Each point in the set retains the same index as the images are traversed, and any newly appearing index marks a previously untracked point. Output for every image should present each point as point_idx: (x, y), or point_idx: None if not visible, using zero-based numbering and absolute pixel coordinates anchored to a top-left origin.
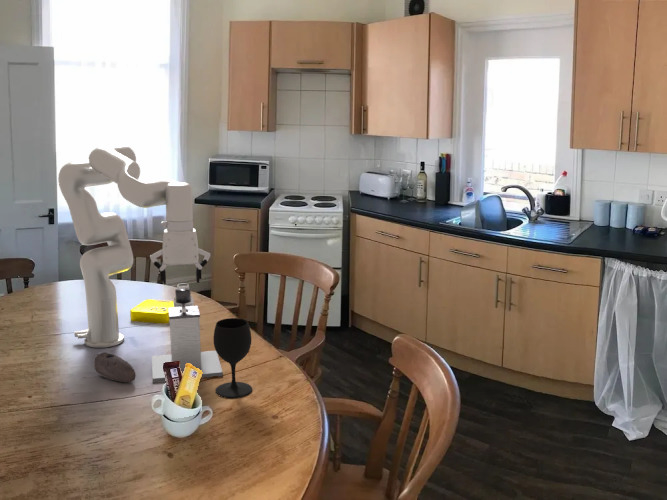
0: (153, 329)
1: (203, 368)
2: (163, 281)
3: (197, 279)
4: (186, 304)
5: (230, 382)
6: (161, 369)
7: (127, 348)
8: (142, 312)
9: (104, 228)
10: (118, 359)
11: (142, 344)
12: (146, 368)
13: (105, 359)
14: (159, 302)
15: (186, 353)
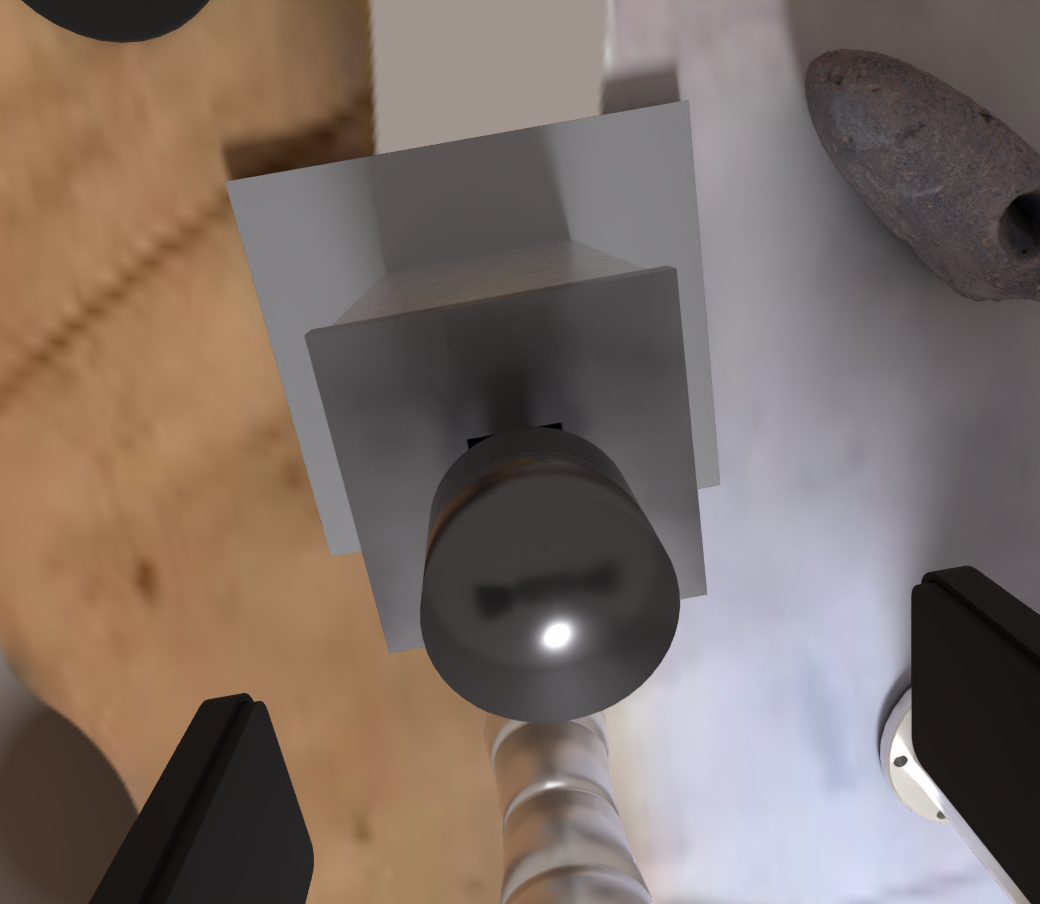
0: (732, 880)
1: (369, 259)
2: (1001, 591)
3: (221, 736)
4: (548, 883)
5: (144, 22)
6: (643, 260)
7: (856, 639)
8: None
9: None
10: (977, 149)
11: (778, 691)
12: (735, 344)
13: None
14: None
15: (479, 265)
